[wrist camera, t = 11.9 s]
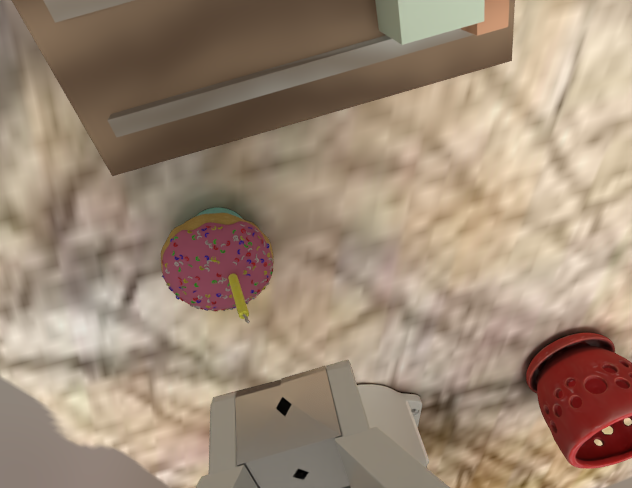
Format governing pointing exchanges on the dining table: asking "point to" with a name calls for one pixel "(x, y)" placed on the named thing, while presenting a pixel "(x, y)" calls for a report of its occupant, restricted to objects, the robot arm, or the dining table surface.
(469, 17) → the block
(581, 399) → the plant pot
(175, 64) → the guide board
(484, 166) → the dining table surface
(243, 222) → the cupcake
